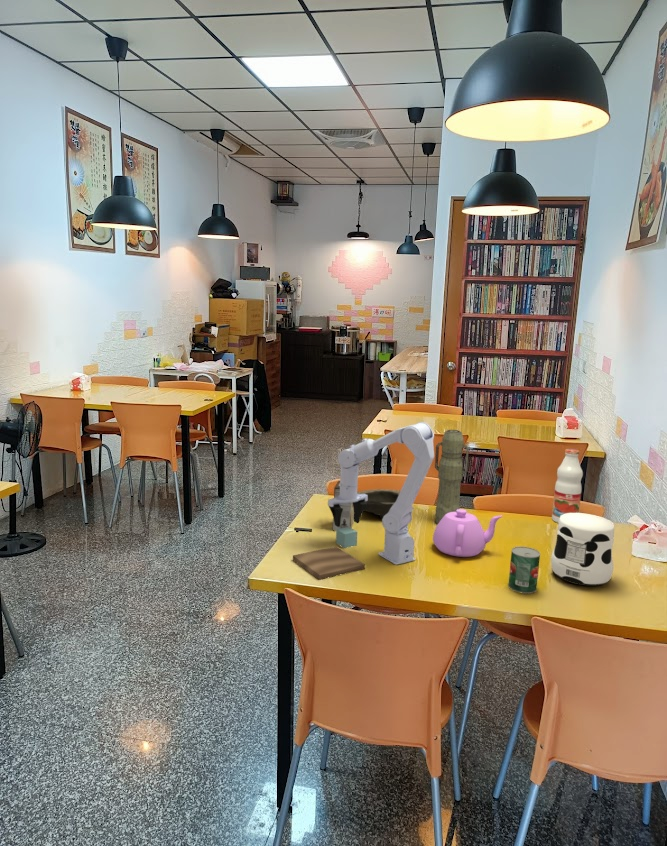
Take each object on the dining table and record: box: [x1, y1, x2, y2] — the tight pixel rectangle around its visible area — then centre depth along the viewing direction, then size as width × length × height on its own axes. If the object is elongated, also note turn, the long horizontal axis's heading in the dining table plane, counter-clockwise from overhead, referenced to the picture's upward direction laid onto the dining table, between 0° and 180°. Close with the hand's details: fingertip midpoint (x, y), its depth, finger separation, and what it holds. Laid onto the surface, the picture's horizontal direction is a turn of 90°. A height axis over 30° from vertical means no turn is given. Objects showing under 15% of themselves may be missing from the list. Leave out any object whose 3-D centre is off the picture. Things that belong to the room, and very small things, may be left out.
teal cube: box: [335, 527, 358, 549], centre depth 205 cm, size 5×5×5 cm
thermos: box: [434, 429, 470, 526], centre depth 226 cm, size 9×12×35 cm
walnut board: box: [292, 546, 366, 581], centre depth 189 cm, size 16×16×2 cm
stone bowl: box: [357, 488, 401, 520], centre depth 238 cm, size 25×25×9 cm
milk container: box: [550, 512, 615, 587], centre depth 184 cm, size 17×17×18 cm
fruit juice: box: [551, 448, 584, 524], centre depth 234 cm, size 9×9×28 cm
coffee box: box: [332, 480, 354, 532], centre depth 220 cm, size 9×6×16 cm
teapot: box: [432, 508, 504, 558], centre depth 202 cm, size 22×22×14 cm
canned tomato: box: [507, 546, 541, 594], centre depth 177 cm, size 8×8×11 cm
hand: (347, 524), depth 204 cm, fingers open, 7 cm apart
